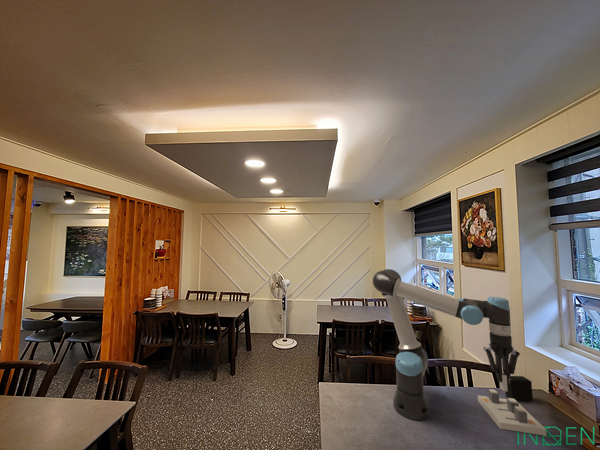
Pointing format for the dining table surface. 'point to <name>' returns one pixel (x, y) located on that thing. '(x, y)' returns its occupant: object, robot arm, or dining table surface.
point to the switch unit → (510, 417)
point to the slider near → (520, 414)
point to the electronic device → (519, 389)
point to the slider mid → (511, 404)
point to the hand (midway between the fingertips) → (503, 389)
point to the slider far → (493, 396)
